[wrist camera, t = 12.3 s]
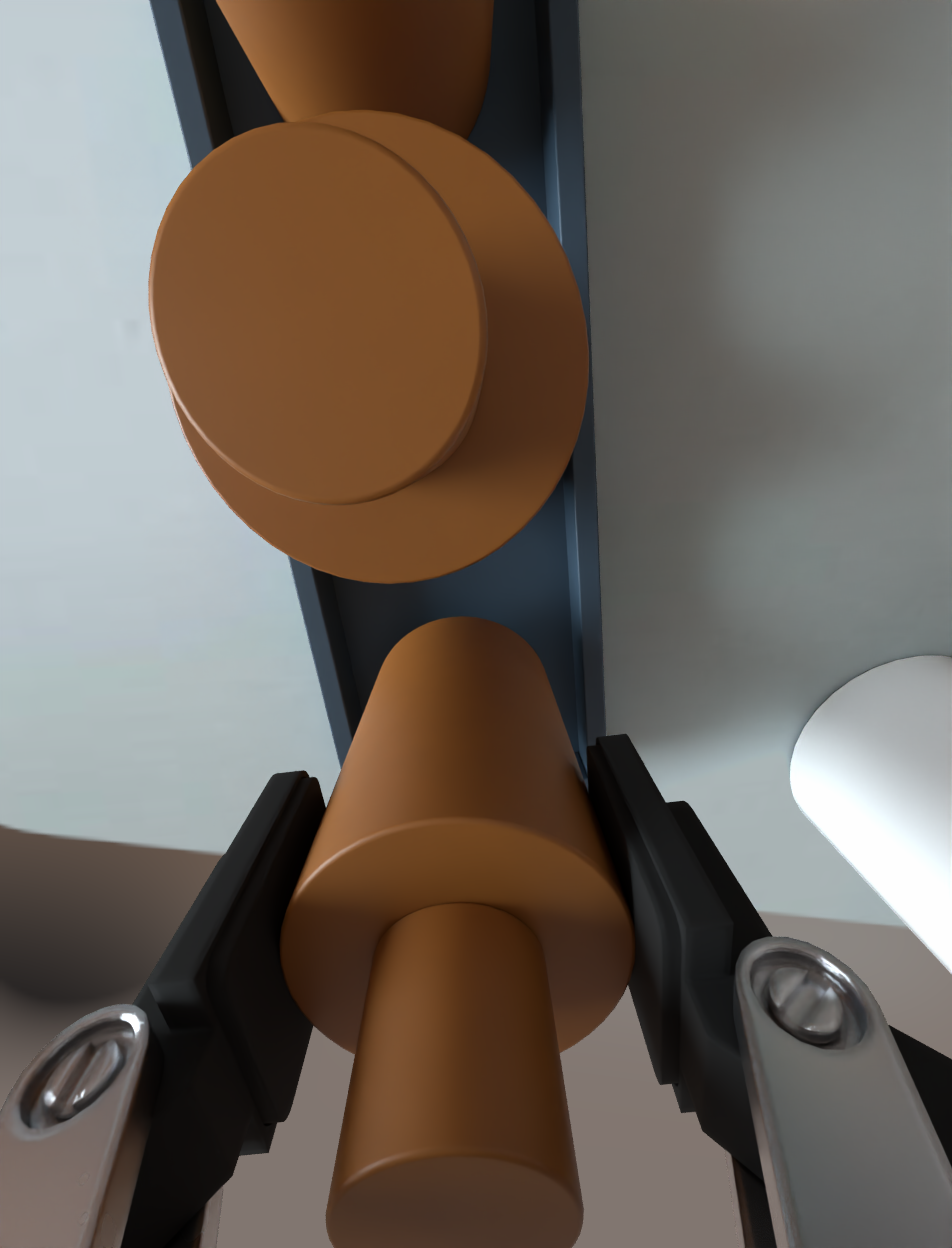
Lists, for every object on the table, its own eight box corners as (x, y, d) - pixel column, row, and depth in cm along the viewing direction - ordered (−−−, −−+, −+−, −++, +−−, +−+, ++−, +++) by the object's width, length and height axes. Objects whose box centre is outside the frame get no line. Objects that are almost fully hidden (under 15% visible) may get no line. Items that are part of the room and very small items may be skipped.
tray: (545, -223, 10) (564, -388, 8) (593, 753, 18) (608, 792, 16) (147, -160, 10) (71, -306, 8) (365, 779, 18) (353, 820, 16)
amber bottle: (541, 605, 14) (744, 1019, 4) (554, 759, 15) (716, 1333, 5) (361, 626, 14) (89, 1086, 4) (392, 778, 15) (259, 1371, 5)
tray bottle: (511, 299, 13) (678, -266, 3) (528, 501, 14) (669, 621, 4) (316, 325, 13) (-229, -119, 3) (355, 523, 14) (103, 688, 4)
